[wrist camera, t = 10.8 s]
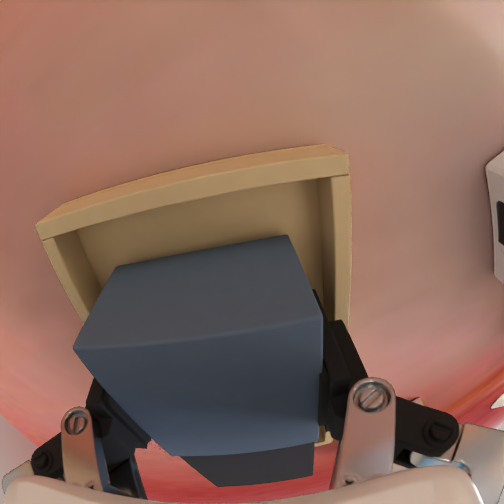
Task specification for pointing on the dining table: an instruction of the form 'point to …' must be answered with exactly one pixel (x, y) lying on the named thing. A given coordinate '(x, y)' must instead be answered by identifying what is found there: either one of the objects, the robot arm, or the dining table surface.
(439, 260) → the dining table surface
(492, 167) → the container
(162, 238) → the wooden tray
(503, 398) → the champagne flute
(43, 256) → the dining table surface
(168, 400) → the blue block
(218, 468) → the pad
